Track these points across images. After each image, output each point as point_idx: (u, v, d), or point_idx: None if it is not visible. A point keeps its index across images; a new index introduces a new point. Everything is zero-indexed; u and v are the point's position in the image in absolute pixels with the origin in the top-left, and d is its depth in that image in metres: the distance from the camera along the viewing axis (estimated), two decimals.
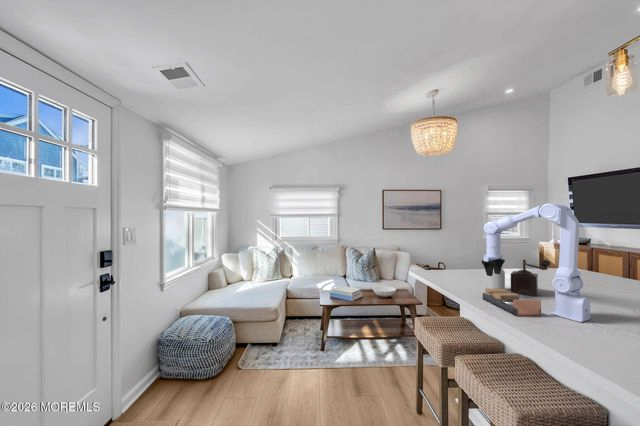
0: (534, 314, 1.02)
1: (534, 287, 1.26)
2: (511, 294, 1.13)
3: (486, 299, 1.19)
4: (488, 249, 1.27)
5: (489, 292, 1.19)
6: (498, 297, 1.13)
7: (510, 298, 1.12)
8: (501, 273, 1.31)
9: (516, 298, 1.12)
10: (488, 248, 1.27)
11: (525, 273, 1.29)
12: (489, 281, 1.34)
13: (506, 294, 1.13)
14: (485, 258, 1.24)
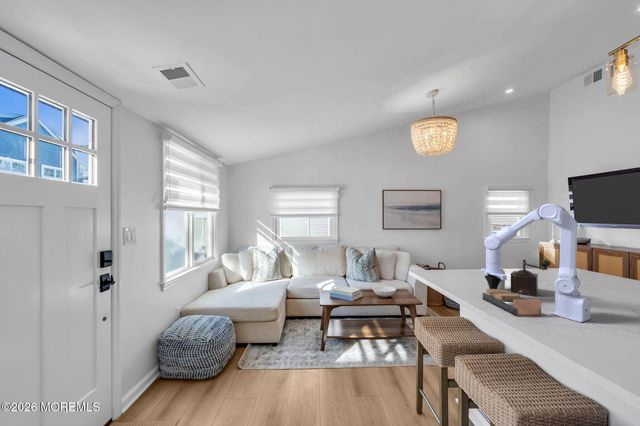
0: (534, 314, 1.02)
1: (534, 287, 1.26)
2: (512, 294, 1.12)
3: (486, 299, 1.19)
4: (495, 266, 1.19)
5: (490, 292, 1.18)
6: (499, 297, 1.12)
7: (511, 299, 1.11)
8: None
9: (517, 299, 1.11)
10: (495, 264, 1.19)
11: (525, 273, 1.29)
12: None
13: (507, 294, 1.12)
14: (504, 276, 1.15)
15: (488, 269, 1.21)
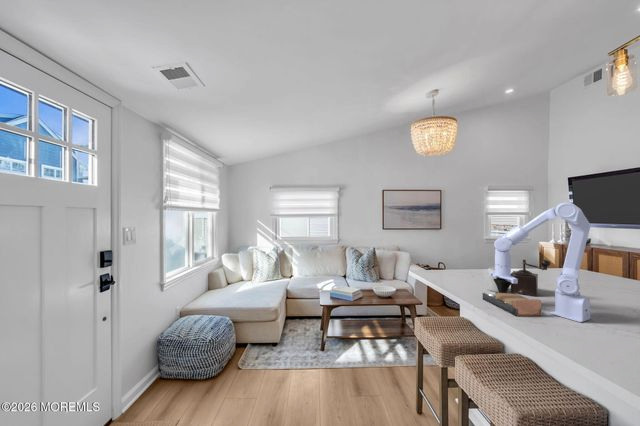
0: (534, 314, 1.02)
1: (534, 287, 1.26)
2: None
3: (486, 299, 1.19)
4: (505, 268, 1.13)
5: (500, 297, 1.12)
6: (510, 302, 1.06)
7: None
8: None
9: None
10: (505, 267, 1.13)
11: (525, 273, 1.29)
12: (489, 281, 1.34)
13: (518, 299, 1.06)
14: (515, 280, 1.09)
15: (497, 272, 1.15)
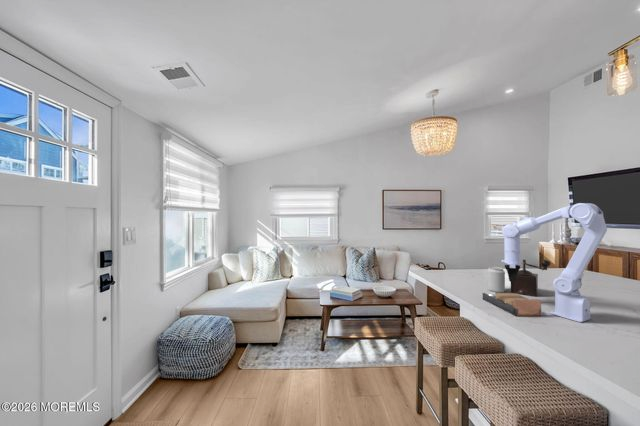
0: (534, 314, 1.02)
1: (534, 287, 1.26)
2: None
3: (486, 299, 1.19)
4: (509, 254, 1.16)
5: (500, 297, 1.12)
6: (510, 302, 1.06)
7: None
8: (501, 273, 1.31)
9: None
10: (509, 253, 1.16)
11: (525, 273, 1.29)
12: (489, 281, 1.34)
13: (518, 299, 1.06)
14: (512, 264, 1.12)
15: (504, 257, 1.19)
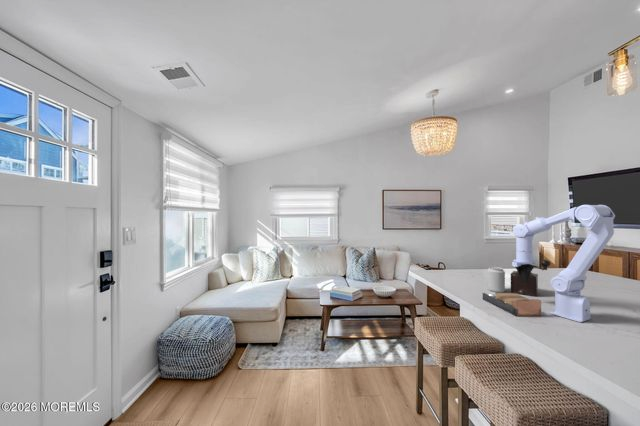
0: (534, 314, 1.02)
1: (534, 287, 1.26)
2: None
3: (486, 299, 1.19)
4: (518, 253, 1.17)
5: (500, 297, 1.12)
6: (510, 302, 1.06)
7: None
8: (501, 273, 1.31)
9: None
10: (518, 252, 1.17)
11: None
12: (489, 281, 1.34)
13: (518, 299, 1.06)
14: (514, 263, 1.15)
15: None
